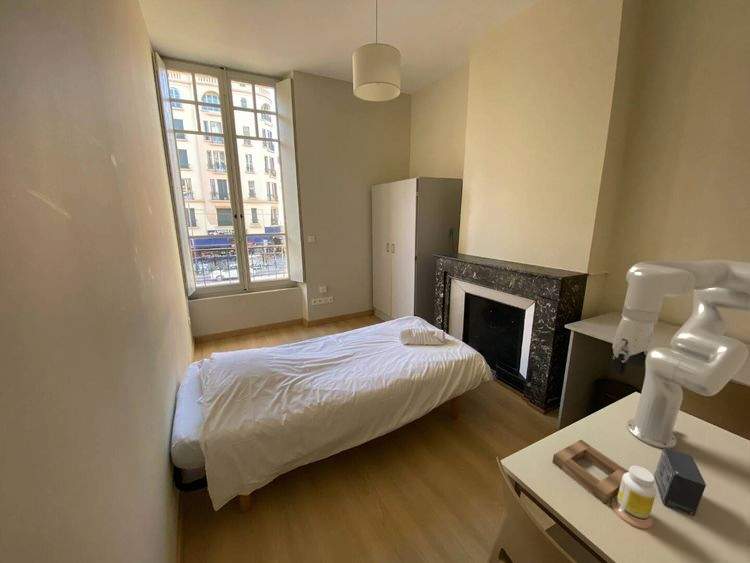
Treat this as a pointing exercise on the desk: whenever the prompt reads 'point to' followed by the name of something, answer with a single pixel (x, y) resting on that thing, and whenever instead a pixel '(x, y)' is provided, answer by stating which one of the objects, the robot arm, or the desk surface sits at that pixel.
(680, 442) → the desk surface
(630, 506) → the pill bottle
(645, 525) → the coaster
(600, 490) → the pocket holder
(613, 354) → the robot arm
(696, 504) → the small box
